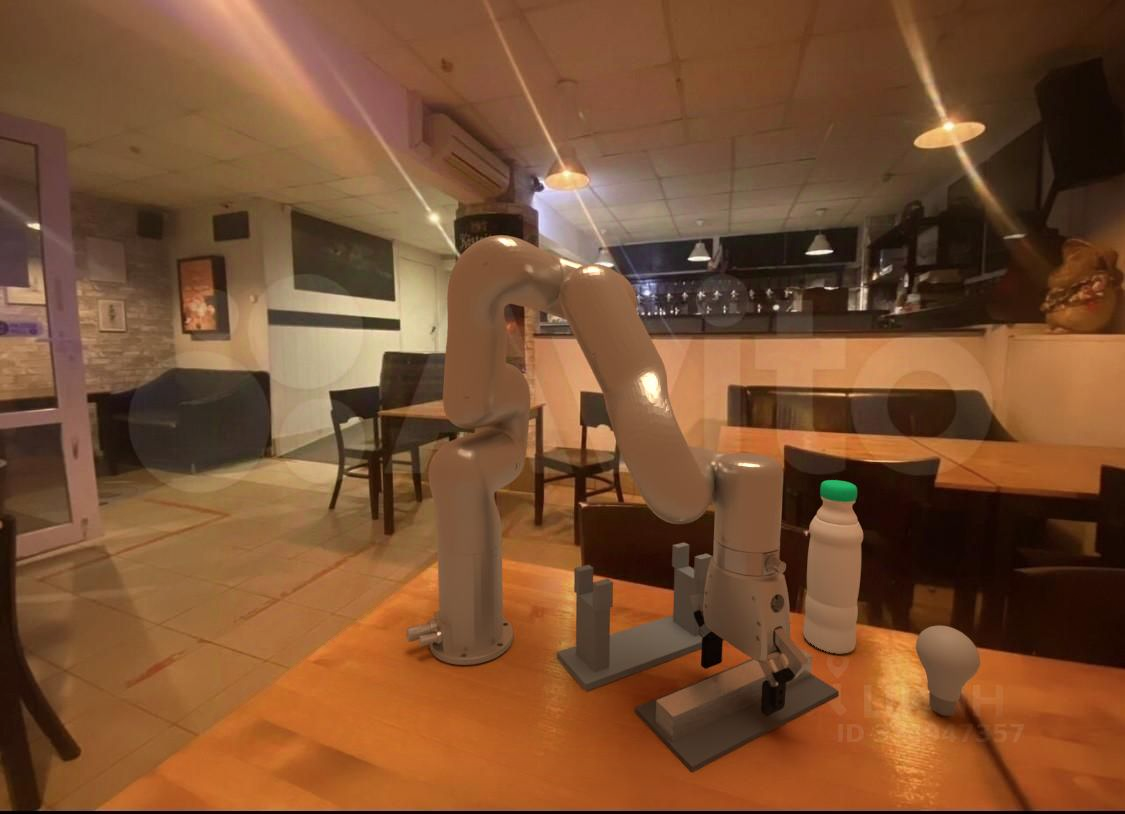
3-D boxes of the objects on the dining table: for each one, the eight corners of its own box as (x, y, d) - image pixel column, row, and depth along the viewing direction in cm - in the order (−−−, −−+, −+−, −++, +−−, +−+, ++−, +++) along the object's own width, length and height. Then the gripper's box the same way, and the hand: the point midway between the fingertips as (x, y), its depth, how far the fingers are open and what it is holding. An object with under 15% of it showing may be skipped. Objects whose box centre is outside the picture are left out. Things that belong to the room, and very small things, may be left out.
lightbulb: (960, 703, 63) (968, 620, 61) (983, 738, 57) (992, 648, 56) (904, 692, 65) (910, 612, 63) (920, 725, 59) (928, 638, 58)
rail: (672, 741, 56) (673, 716, 55) (655, 724, 58) (656, 700, 58) (810, 676, 67) (812, 655, 66) (791, 663, 69) (792, 643, 69)
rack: (585, 691, 65) (586, 593, 63) (557, 658, 72) (557, 568, 70) (724, 639, 76) (728, 555, 75) (688, 615, 83) (691, 538, 82)
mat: (691, 772, 52) (691, 766, 52) (634, 711, 61) (635, 707, 61) (838, 695, 64) (838, 690, 64) (773, 653, 73) (773, 650, 73)
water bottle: (842, 630, 79) (852, 477, 76) (864, 657, 72) (876, 489, 69) (796, 628, 80) (804, 476, 77) (813, 654, 73) (824, 488, 70)
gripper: (832, 577, 55) (822, 720, 56) (715, 528, 70) (711, 642, 72) (786, 592, 51) (778, 745, 53) (674, 537, 66) (670, 657, 68)
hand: (739, 686), depth 62 cm, fingers open, 9 cm apart
